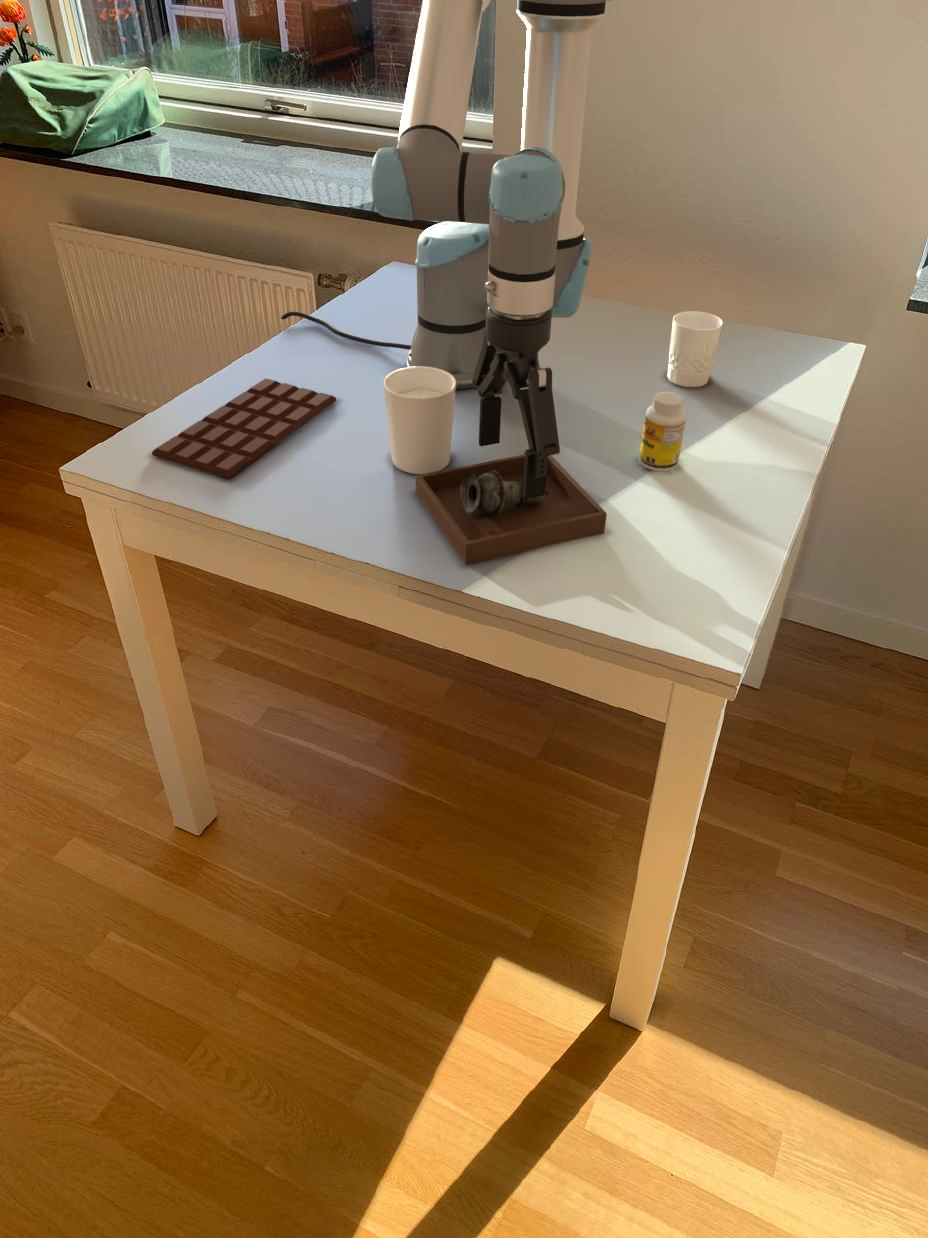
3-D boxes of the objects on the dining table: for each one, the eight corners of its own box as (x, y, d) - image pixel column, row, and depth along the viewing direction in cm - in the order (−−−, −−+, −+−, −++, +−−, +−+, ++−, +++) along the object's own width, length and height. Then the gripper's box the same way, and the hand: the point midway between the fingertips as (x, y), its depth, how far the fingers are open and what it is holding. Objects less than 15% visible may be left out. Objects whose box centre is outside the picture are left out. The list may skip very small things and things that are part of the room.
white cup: (658, 369, 163) (667, 311, 156) (704, 368, 163) (715, 310, 157) (670, 389, 157) (680, 330, 150) (717, 388, 157) (729, 329, 151)
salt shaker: (457, 474, 125) (535, 474, 131) (460, 519, 126) (538, 517, 131) (478, 466, 120) (559, 467, 126) (481, 513, 120) (562, 512, 126)
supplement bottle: (633, 455, 140) (642, 389, 133) (669, 452, 141) (680, 387, 134) (645, 474, 136) (656, 408, 129) (683, 471, 136) (695, 405, 130)
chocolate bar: (265, 382, 156) (265, 376, 155) (336, 400, 151) (335, 394, 151) (152, 455, 137) (151, 448, 136) (229, 478, 132) (228, 472, 132)
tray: (465, 564, 118) (465, 544, 116) (415, 494, 130) (415, 475, 129) (604, 532, 124) (607, 513, 122) (544, 468, 136) (546, 449, 135)
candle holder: (404, 483, 132) (402, 403, 125) (375, 451, 139) (372, 374, 132) (467, 467, 136) (469, 389, 129) (436, 437, 143) (436, 361, 135)
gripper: (447, 273, 117) (447, 428, 131) (537, 357, 100) (525, 526, 114) (504, 265, 120) (497, 419, 133) (601, 346, 102) (582, 513, 116)
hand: (510, 468), depth 123 cm, fingers open, 13 cm apart
